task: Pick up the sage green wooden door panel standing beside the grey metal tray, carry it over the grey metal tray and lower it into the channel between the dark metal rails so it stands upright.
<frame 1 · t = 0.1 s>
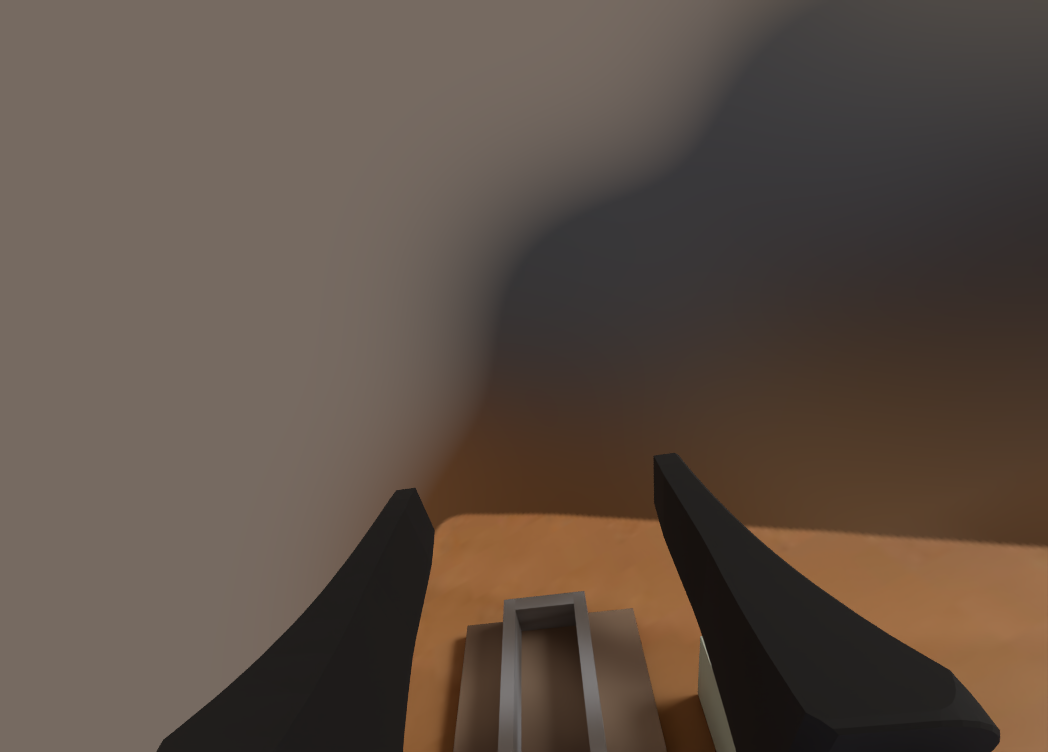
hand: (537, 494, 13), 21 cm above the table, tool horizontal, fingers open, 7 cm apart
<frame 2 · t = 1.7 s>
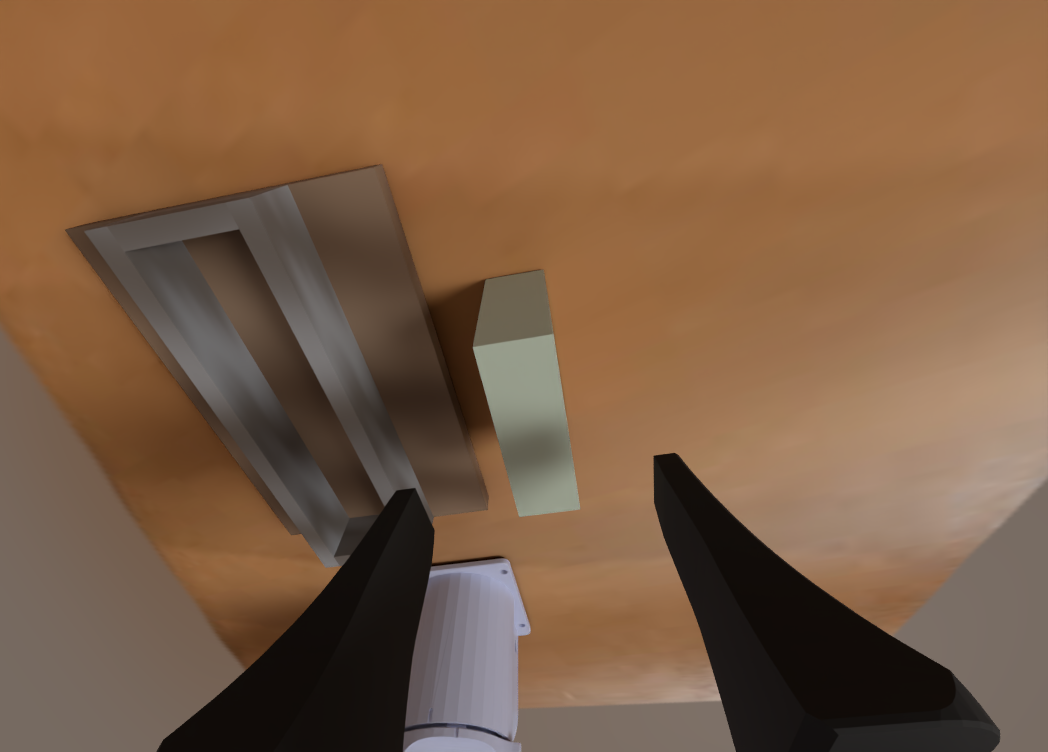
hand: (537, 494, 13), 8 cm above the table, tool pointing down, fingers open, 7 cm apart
grey metal tray: (329, 388, 21), on the table
panel: (529, 355, 20), on the table
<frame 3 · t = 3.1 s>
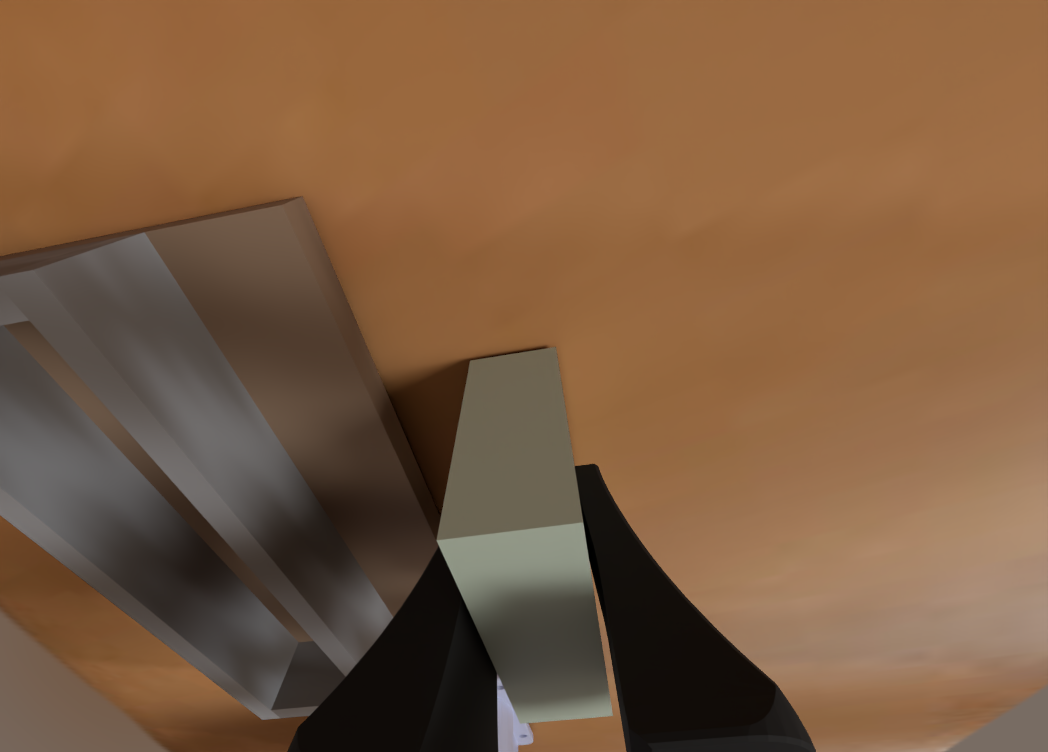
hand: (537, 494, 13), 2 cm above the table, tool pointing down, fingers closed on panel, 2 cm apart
grey metal tray: (258, 493, 15), on the table
panel: (534, 455, 14), on the table, touching gripper
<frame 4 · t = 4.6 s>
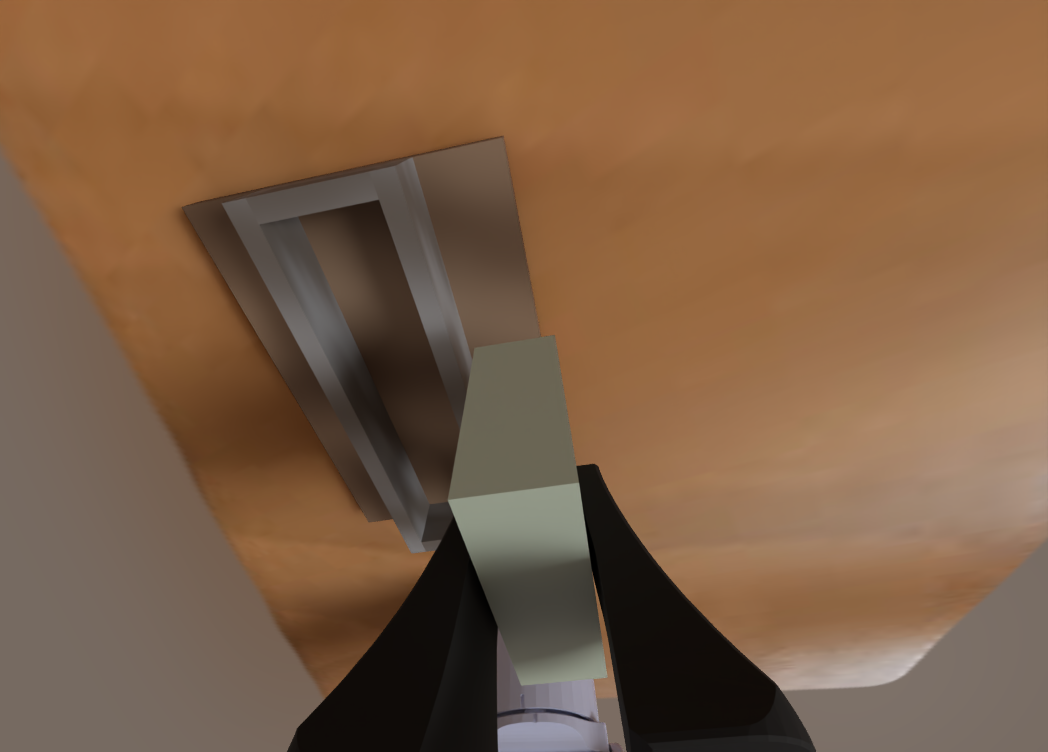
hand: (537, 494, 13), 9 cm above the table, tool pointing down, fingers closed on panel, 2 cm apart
grey metal tray: (421, 370, 21), on the table
panel: (534, 439, 15), point 6 cm above the table, touching gripper
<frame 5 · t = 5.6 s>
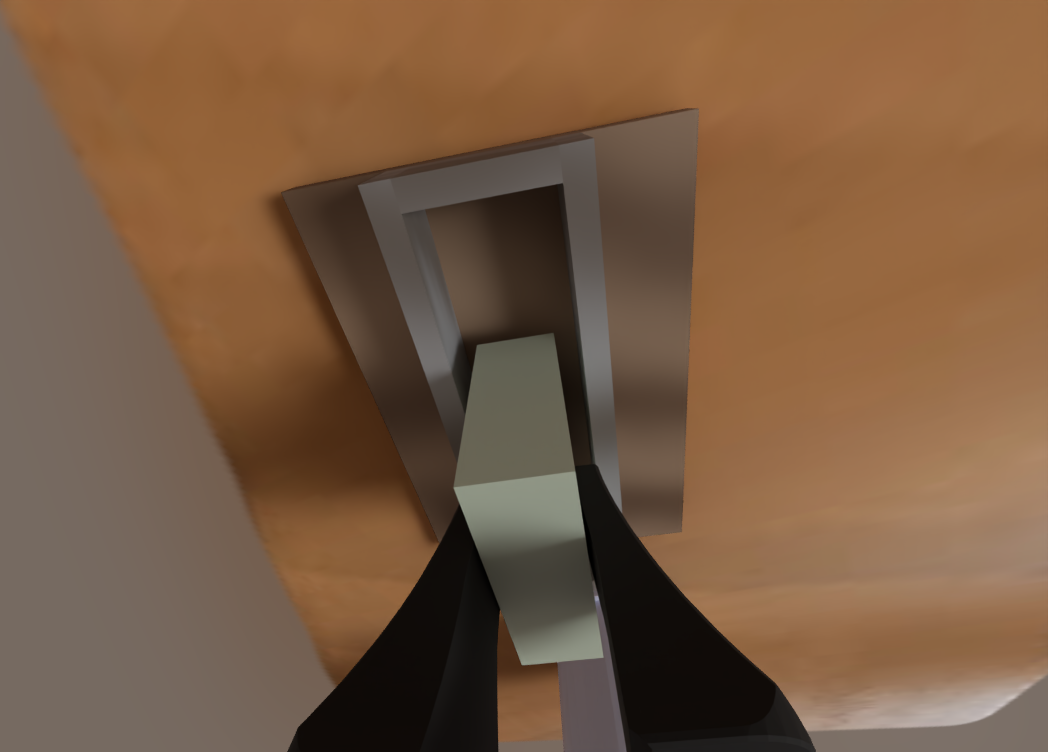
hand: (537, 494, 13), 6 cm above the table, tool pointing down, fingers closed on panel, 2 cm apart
grey metal tray: (532, 391, 17), on the table
panel: (534, 432, 16), point 2 cm above the table, touching gripper
when the fingers open (5 cm above the table, at t = 6.1 s): panel stays where it is, resting on grey metal tray.
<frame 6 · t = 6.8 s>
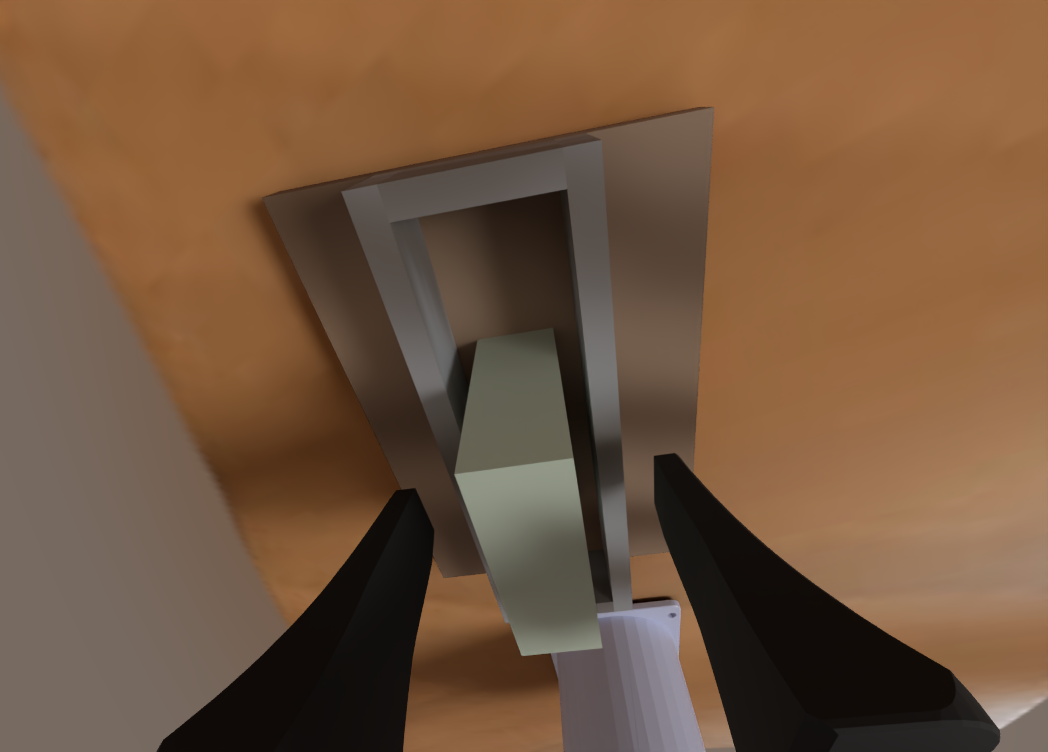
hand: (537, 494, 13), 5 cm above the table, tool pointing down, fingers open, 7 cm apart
grey metal tray: (532, 405, 17), on the table
panel: (534, 427, 16), point 1 cm above the table, touching grey metal tray
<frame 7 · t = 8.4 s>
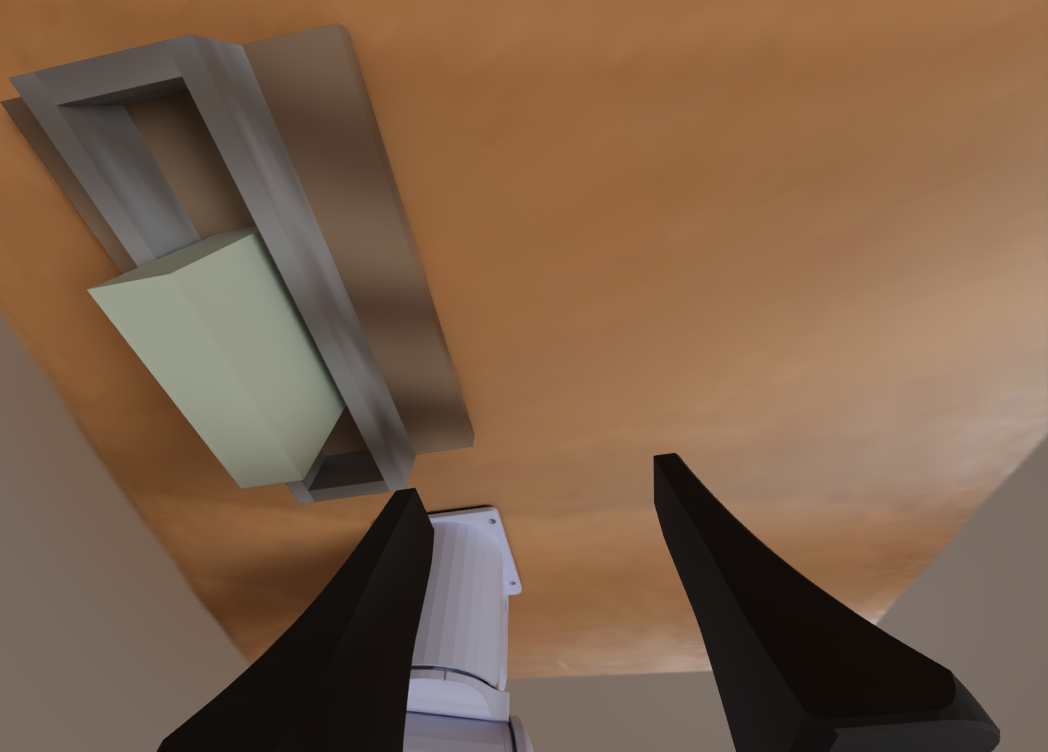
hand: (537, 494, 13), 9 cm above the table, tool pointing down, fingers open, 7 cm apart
grey metal tray: (300, 305, 19), on the table
panel: (293, 319, 19), point 1 cm above the table, touching grey metal tray
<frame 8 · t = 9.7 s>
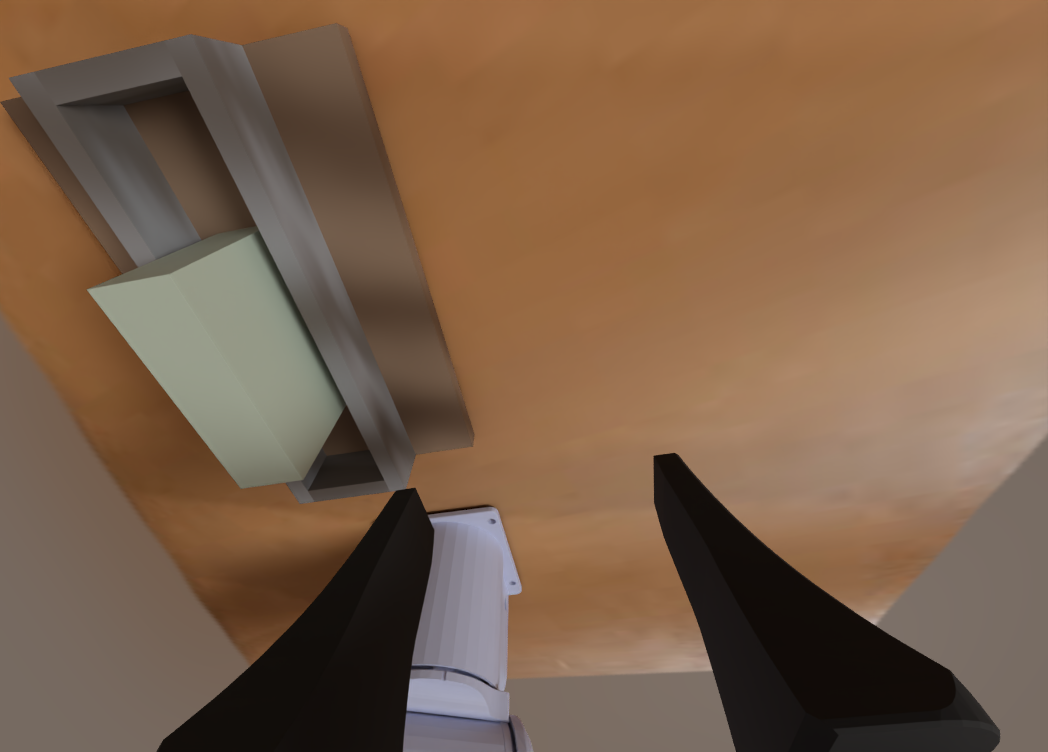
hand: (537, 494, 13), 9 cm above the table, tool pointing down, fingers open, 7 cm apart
grey metal tray: (300, 305, 19), on the table
panel: (293, 319, 19), point 1 cm above the table, touching grey metal tray
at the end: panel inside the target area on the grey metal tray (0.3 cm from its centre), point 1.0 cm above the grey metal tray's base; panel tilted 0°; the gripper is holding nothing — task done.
